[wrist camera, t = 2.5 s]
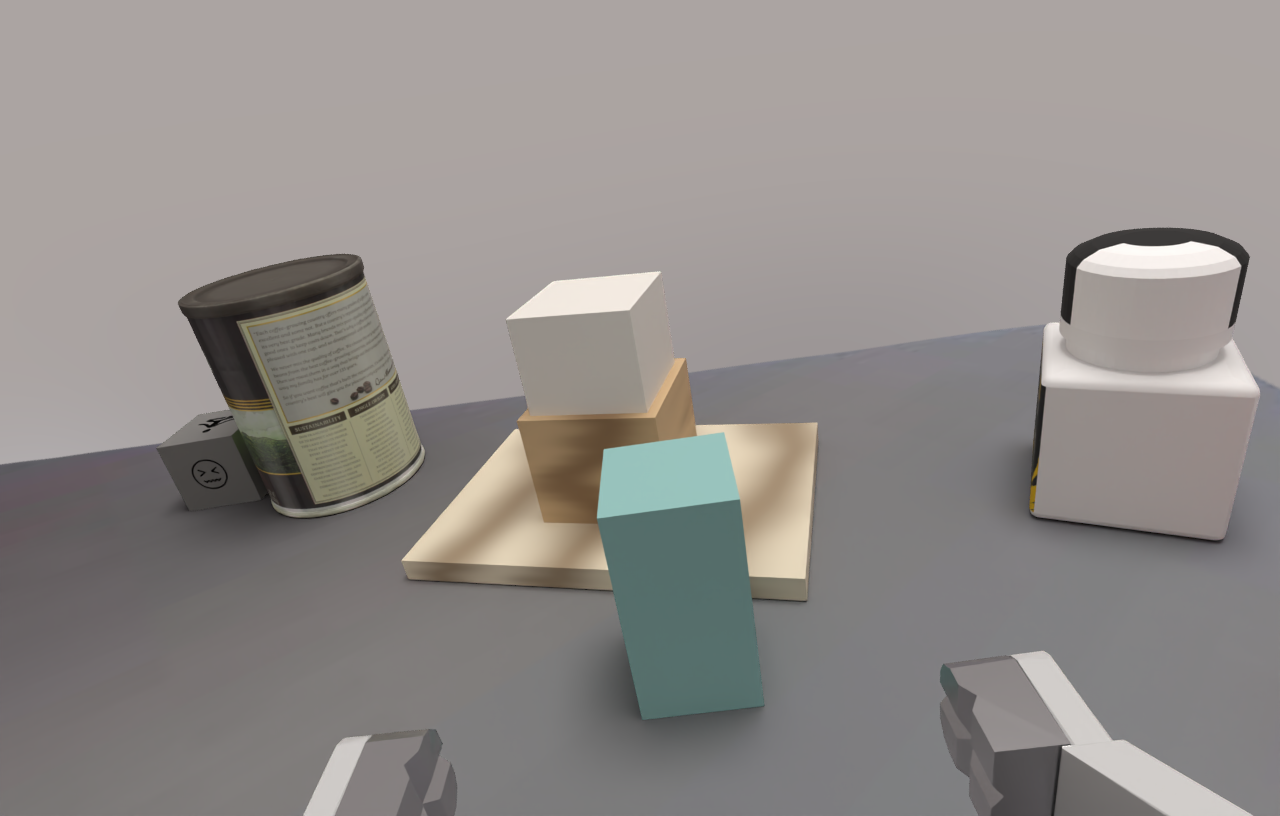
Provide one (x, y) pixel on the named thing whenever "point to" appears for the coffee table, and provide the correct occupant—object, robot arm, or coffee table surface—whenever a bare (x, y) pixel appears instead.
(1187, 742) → the coffee table surface
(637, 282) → the white block
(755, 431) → the birch board
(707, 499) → the teal block
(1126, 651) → the coffee table surface
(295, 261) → the coffee can
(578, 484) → the oak block
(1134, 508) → the medicine bottle
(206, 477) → the dice cube
